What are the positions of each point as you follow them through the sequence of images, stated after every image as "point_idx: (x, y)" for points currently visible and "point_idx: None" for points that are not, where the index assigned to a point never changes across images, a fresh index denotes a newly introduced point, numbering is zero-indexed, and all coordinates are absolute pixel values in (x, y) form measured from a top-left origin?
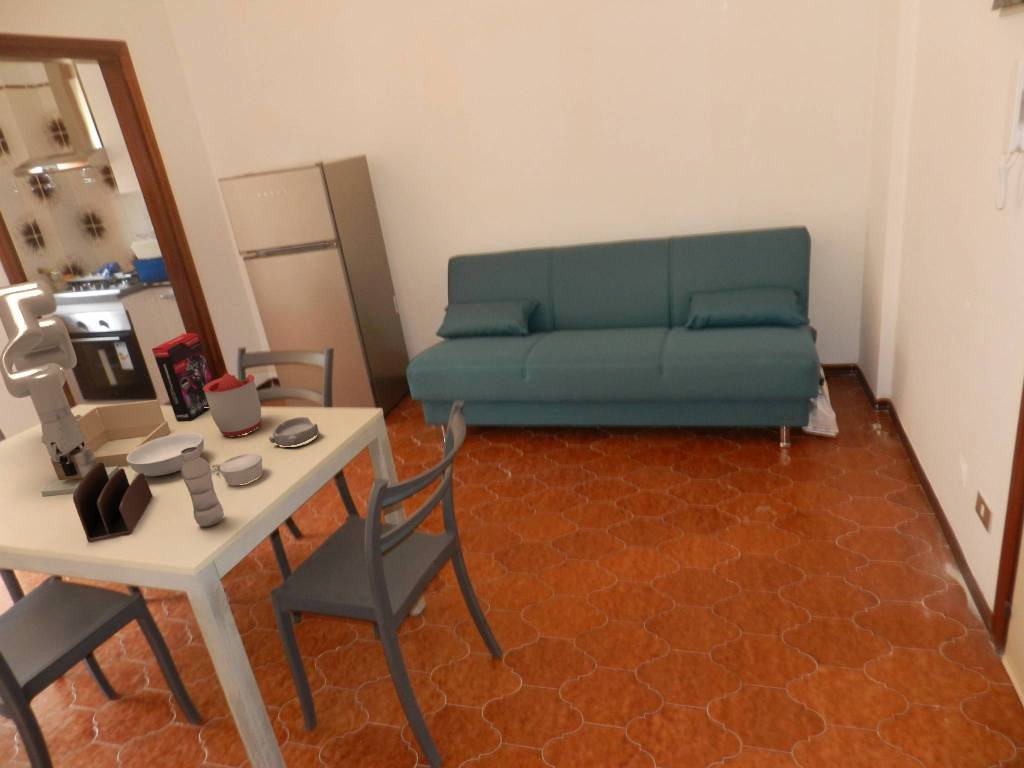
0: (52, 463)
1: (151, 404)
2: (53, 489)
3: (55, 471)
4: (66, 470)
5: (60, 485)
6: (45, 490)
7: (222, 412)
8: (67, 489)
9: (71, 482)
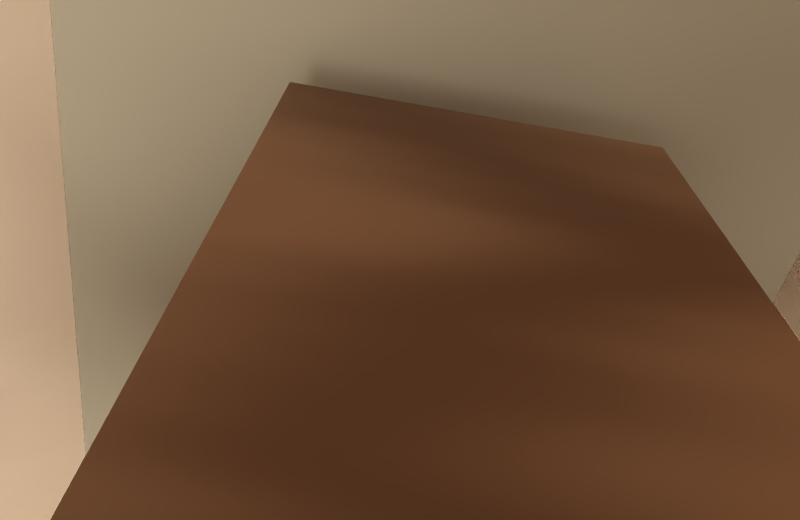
0: (154, 343)
1: None
2: (92, 5)
3: (242, 173)
4: None
5: (250, 75)
6: None
7: None
8: (72, 256)
9: None
